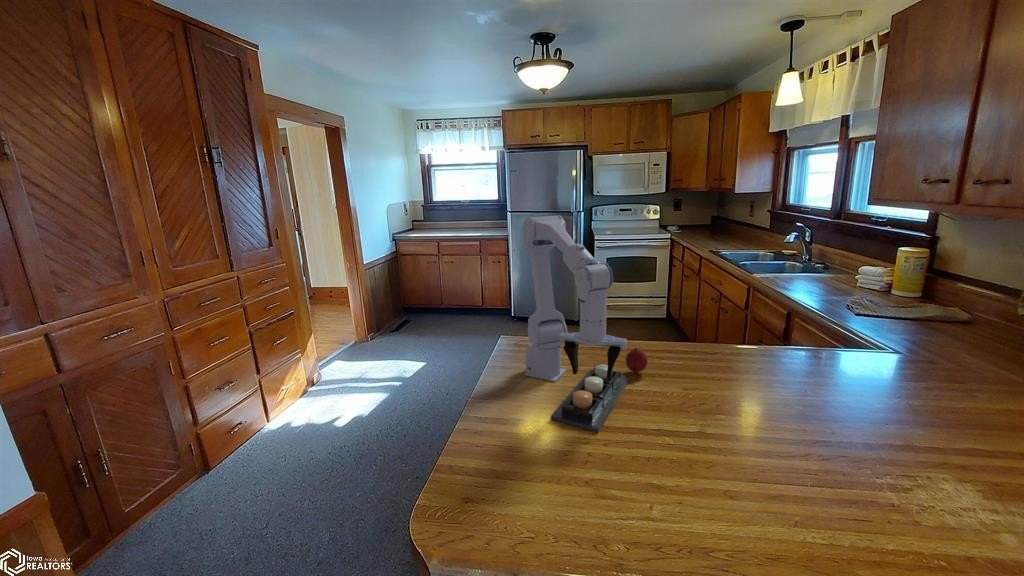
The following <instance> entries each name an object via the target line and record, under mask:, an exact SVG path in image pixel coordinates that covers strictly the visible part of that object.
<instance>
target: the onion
mask: <svg viewBox="0 0 1024 576" xmlns="http://www.w3.org/2000/svg"><path fill="white" fill-rule="evenodd" d="M648 361H649V360H648V357H647V354H646V353H645V352H644V351H643V350H641V349H640V346H639V345H636V346H635V348H633V349H631V350H630V351H629V352H628V353H627V355H626V357H625V364H626V367H627V368H628V369H629V370H630V371H631V372H632V373H634V374H638V373H641V372H643V371H644V370H645V369H646V367H647V366H648V363H649V362H648Z"/></svg>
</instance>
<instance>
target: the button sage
mask: <svg viewBox="0 0 1024 576" xmlns="http://www.w3.org/2000/svg"><path fill="white" fill-rule="evenodd" d="M607 369H608V364H603V363H602V364H601V363H600V364H597V365H595V377H599V378H601V379H603V380H610V379H612V375H611V378H610V379H607Z"/></svg>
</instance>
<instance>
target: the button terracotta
mask: <svg viewBox="0 0 1024 576" xmlns="http://www.w3.org/2000/svg"><path fill="white" fill-rule="evenodd" d="M573 406H574V407H575V408H579V409H583V410H588V409H590V408H591V407H592V394H591V393H590V392H588V391H583V390H580V391H576V392H574V393H573Z"/></svg>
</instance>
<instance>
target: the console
mask: <svg viewBox="0 0 1024 576" xmlns="http://www.w3.org/2000/svg"><path fill="white" fill-rule="evenodd" d="M587 377H595V367H593V368H590V369H589V370H588V371H587V372H586V374H585V375H584V376H583V377H582V378H581V379H580V381H579V382H578V383H577V384H576V385H575V387H574V388H573V389H572V390H571V391H570V393H569V394H568V395H567V396H566V397H565V399H564V400H562V402H561V404H559V405H558V407H557V408H556V409H555V411H554V412H553V413H552V414H551V415H550V421H551V422H555V423H558V424H563V425H566V426H570V427H573V428H576V429H577V428H578V429H580V430H584V431H588V432H592V433H595V434H599V432H600V431H601V430H602V428H603V426H604V424H605V422H606V421H607V419H608V417H609V416H610V415H611V412H612V411H613V409H614V407H615V406H616V404H617V403H618V400H619V399H620V397H621V396H622V394H623V392H624V391H625V389H626V387H627V386H628V384H629V382H630V378H631V377H630V376H627V375H624V374H623V375H622V373H621V371H618V370H617V371H616V370H613V369H612V379H610V380H603V379H602V380H603V392H602V393H600V394H594V393H591V394H592V407H591V408H590V409H588V410H583V409H579V408H575V407H574V406H573V393H574V392H576V391H580V390H583V391H585V379H586V378H587Z"/></svg>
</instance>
